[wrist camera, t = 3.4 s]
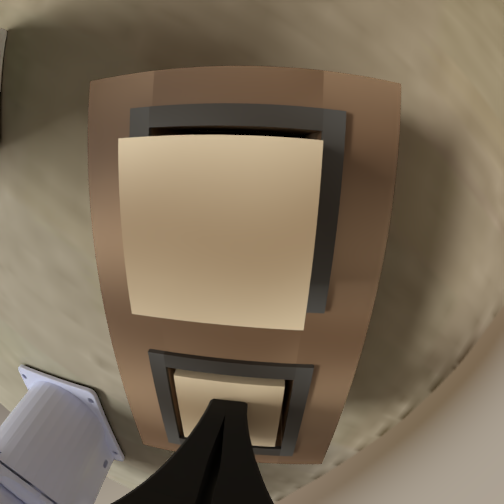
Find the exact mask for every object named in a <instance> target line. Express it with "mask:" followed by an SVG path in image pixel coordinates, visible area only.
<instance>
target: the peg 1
mask: <svg viewBox="0 0 504 504" xmlns="http://www.w3.org/2000/svg"><path fill="white" fill-rule="evenodd" d="M322 154H323V140H314V139H302V138H289V137H273V136H251V135H168V136H147V137H131V138H118V168H119V196H120V214H121V227H122V239H123V249H124V259H125V268H126V276H127V284H128V291H129V298H130V304H131V311H132V314H137V315H144V316H151V317H158V318H166V319H174V320H183V321H191V322H200V323H210V324H220V325H231V326H243V327H255V328H270V329H286V330H304V323H305V316H306V309H307V302H308V295H309V287H310V279H311V271H312V263H313V254H314V245H315V236H316V226H317V216H318V205H319V194H320V182H321V169H322Z"/></svg>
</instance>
